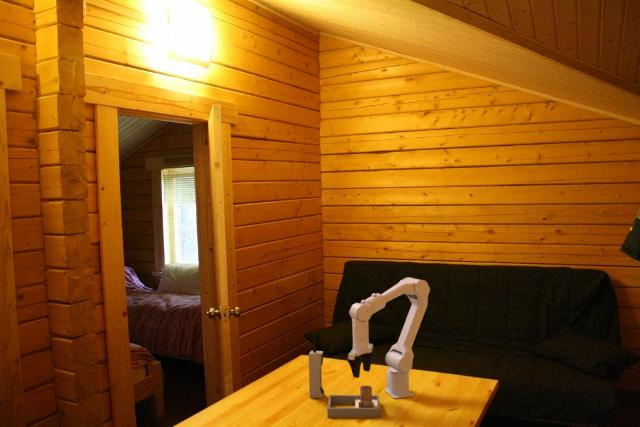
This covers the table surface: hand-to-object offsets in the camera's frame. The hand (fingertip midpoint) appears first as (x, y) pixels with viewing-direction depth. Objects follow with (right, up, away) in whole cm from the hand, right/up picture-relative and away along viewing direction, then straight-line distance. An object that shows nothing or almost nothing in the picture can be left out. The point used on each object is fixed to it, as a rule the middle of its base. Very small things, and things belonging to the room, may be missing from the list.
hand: (361, 374), depth 188 cm
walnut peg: (+1, -11, -7) cm, 13 cm away
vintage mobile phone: (-16, -11, +7) cm, 21 cm away
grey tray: (-3, -11, -6) cm, 13 cm away
